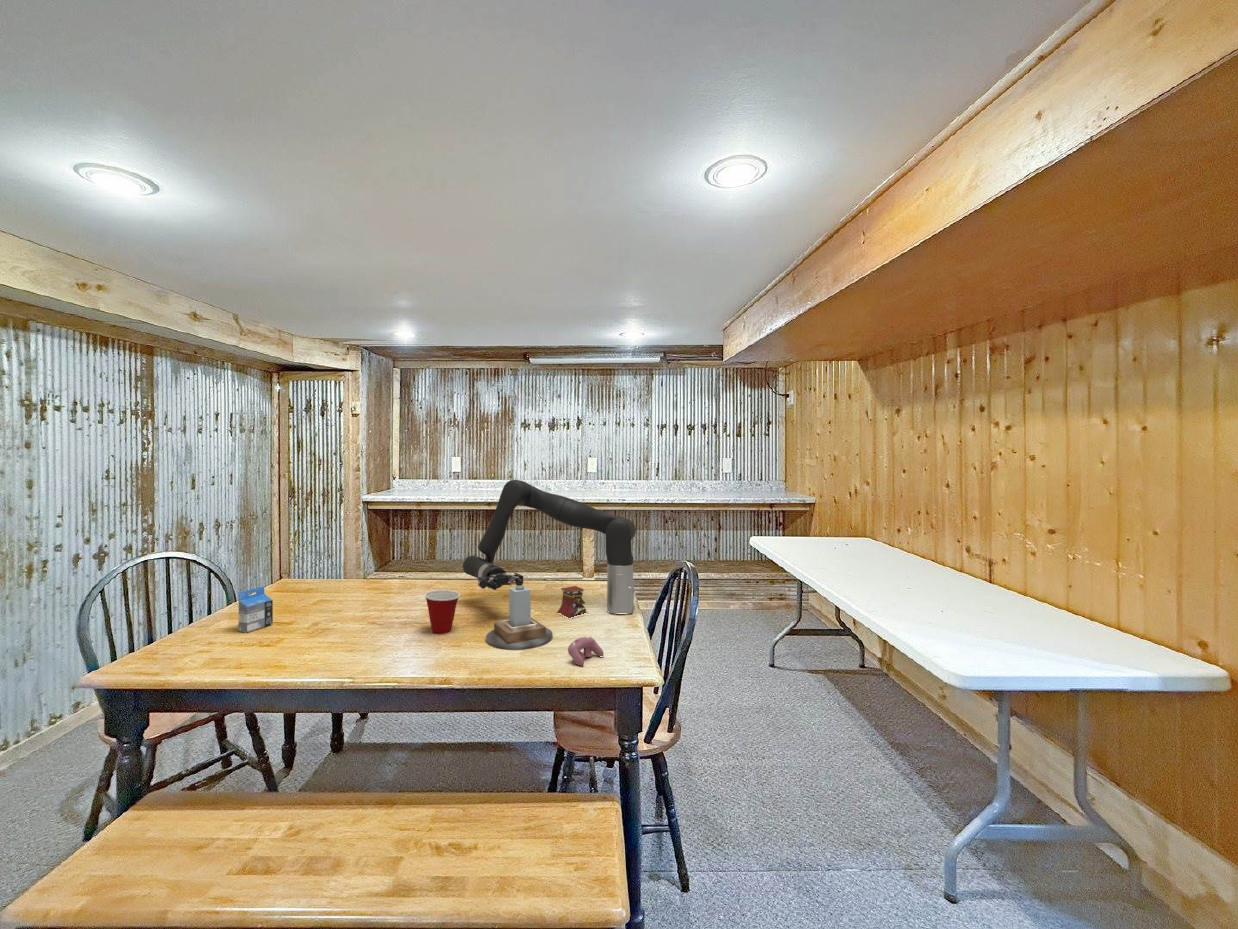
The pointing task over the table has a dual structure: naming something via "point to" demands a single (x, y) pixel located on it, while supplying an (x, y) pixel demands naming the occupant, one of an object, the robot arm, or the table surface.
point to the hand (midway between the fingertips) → (508, 585)
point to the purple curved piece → (588, 647)
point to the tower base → (517, 645)
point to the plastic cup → (441, 609)
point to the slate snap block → (519, 606)
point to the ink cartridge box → (254, 610)
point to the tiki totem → (572, 602)
